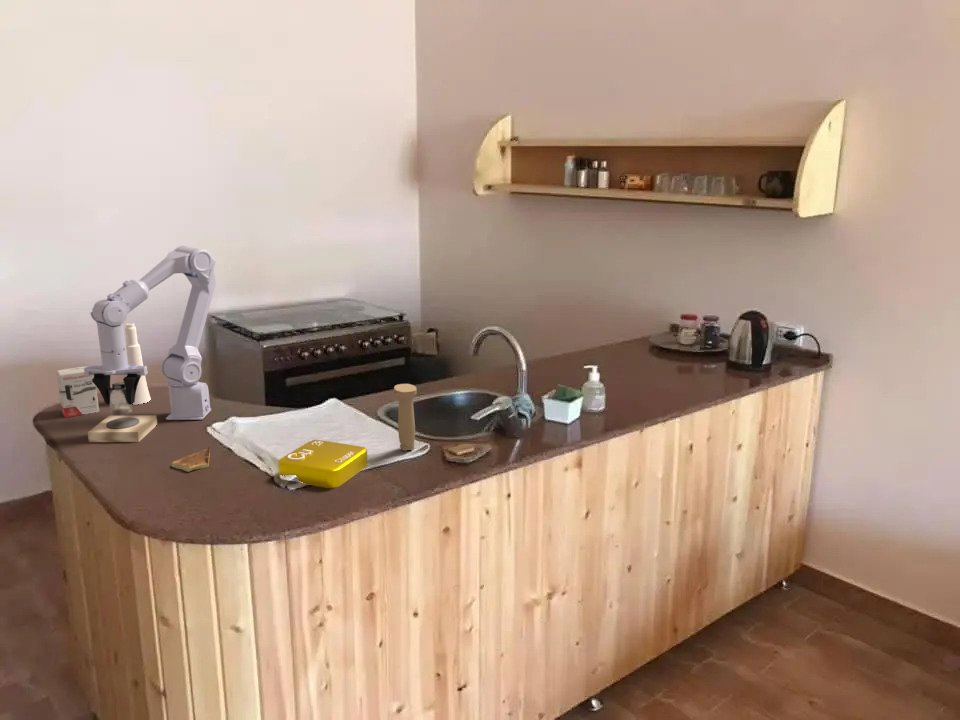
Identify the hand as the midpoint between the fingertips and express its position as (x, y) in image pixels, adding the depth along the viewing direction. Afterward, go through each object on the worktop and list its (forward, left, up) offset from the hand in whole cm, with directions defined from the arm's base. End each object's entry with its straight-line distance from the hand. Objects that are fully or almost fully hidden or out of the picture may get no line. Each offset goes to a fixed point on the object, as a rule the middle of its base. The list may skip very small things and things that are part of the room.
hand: (120, 403), depth 204 cm
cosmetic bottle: (+6, -25, -8) cm, 27 cm away
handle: (-71, +12, -8) cm, 72 cm away
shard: (-23, +19, -8) cm, 31 cm away
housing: (0, 0, -2) cm, 2 cm away
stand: (0, 0, -8) cm, 8 cm away
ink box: (+18, -16, -8) cm, 25 cm away
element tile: (-54, +24, -8) cm, 60 cm away
